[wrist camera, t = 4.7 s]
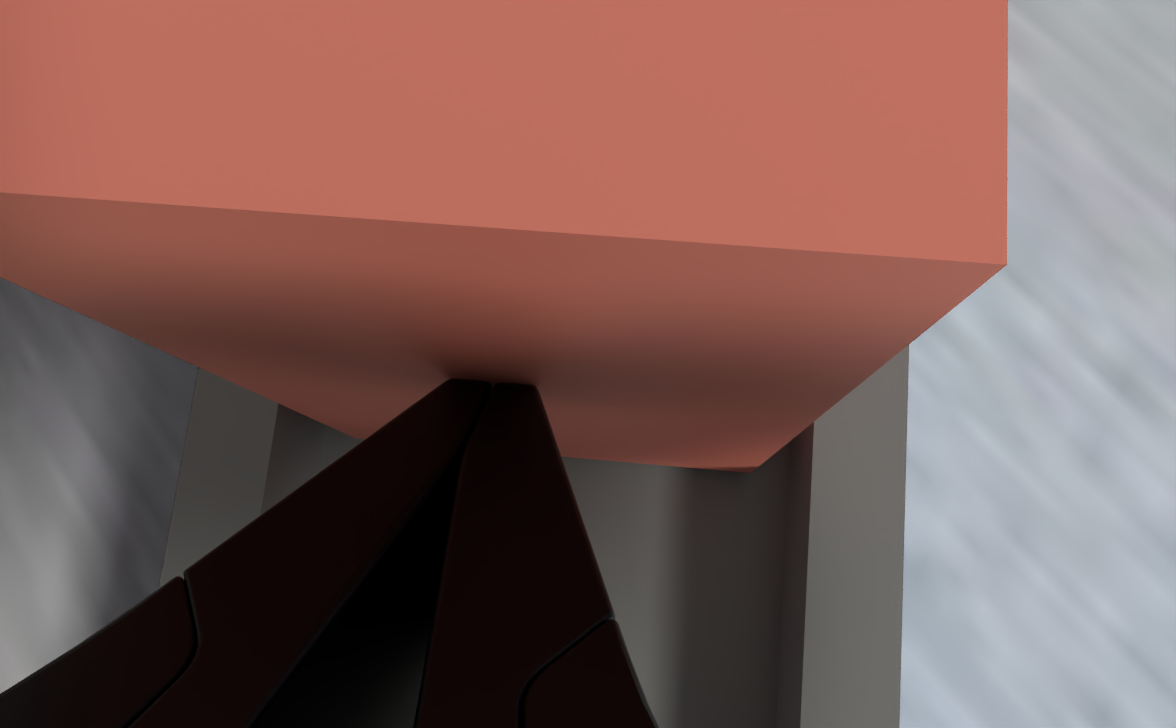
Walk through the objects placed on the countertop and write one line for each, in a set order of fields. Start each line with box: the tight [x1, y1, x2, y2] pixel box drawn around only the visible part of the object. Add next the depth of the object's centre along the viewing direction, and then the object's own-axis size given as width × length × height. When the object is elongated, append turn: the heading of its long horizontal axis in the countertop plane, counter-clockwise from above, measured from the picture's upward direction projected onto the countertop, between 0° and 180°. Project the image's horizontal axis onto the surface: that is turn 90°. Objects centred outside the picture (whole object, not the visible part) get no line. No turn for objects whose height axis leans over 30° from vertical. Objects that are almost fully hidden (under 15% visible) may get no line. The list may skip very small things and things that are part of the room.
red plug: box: [0, 0, 1008, 473], centre depth 10 cm, size 5×6×10 cm
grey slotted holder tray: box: [159, 345, 909, 728], centre depth 13 cm, size 16×10×6 cm, turn 175°
